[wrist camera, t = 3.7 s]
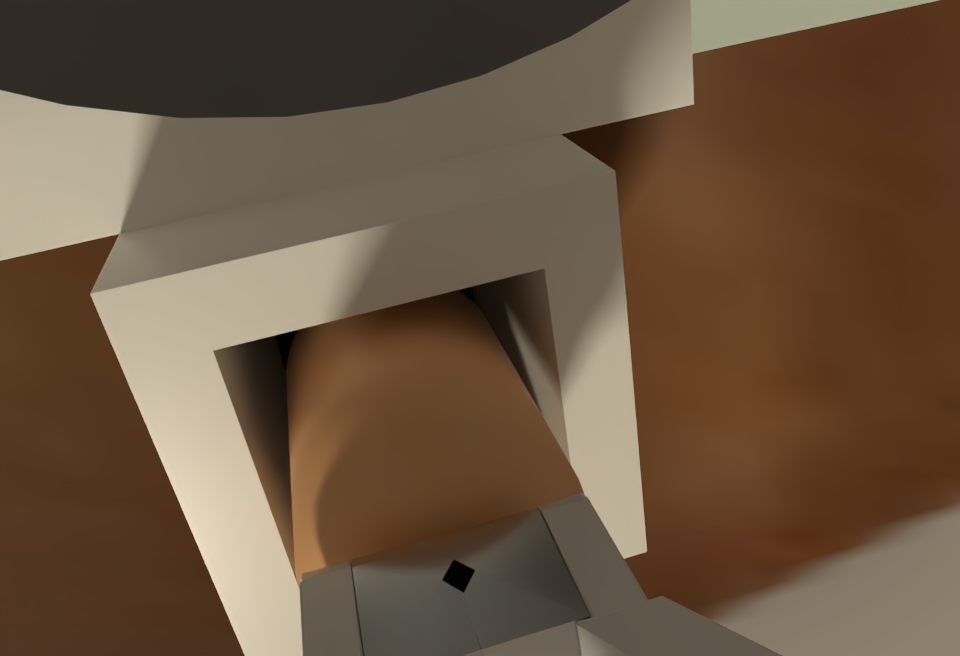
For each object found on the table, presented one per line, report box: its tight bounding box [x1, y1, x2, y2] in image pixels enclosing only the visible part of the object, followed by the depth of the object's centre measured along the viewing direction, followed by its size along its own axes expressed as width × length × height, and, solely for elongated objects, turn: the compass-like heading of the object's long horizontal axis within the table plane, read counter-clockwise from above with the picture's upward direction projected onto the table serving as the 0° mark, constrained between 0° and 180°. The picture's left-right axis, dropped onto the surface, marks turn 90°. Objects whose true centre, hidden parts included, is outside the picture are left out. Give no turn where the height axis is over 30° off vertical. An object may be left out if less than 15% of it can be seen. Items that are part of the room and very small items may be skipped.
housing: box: [0, 0, 694, 656], centre depth 11 cm, size 16×10×6 cm, turn 9°
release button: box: [286, 290, 584, 590], centre depth 10 cm, size 3×3×4 cm
